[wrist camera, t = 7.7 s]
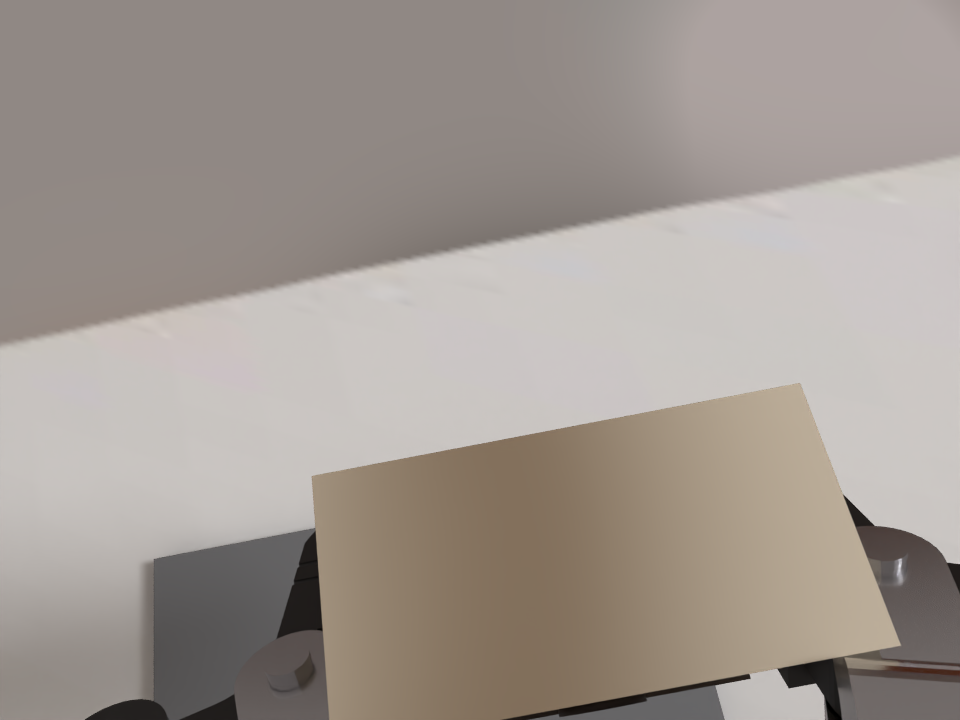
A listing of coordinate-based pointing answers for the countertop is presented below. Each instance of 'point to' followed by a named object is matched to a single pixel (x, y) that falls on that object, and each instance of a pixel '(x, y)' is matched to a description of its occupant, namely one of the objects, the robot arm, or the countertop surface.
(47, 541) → the countertop surface
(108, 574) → the countertop surface
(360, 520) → the domino
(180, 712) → the mat
